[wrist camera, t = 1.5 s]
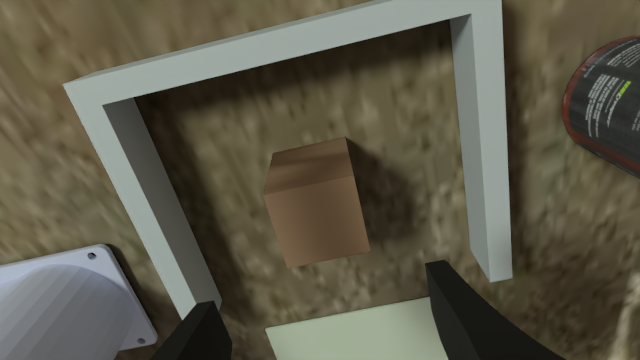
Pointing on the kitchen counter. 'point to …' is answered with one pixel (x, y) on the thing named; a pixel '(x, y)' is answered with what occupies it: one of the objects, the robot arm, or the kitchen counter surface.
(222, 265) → the kitchen counter surface
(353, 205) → the block
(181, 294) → the u-shaped barrier
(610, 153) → the supplement bottle
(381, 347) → the mat
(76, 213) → the kitchen counter surface
